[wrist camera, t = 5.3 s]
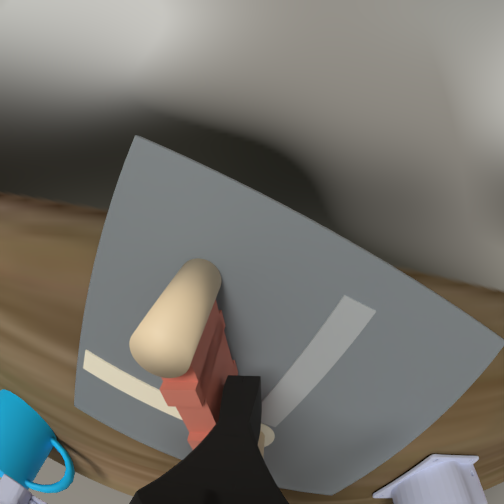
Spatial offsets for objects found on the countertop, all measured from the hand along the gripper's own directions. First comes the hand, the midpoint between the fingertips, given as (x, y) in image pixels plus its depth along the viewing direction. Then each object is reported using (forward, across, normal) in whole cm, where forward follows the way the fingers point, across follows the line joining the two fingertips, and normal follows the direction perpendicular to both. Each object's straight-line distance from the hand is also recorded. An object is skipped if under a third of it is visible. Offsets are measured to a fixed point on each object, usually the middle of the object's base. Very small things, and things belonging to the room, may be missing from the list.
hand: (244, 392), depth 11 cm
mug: (+3, +23, +14) cm, 27 cm away
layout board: (+3, -1, +4) cm, 5 cm away
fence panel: (+2, +1, 0) cm, 3 cm away
